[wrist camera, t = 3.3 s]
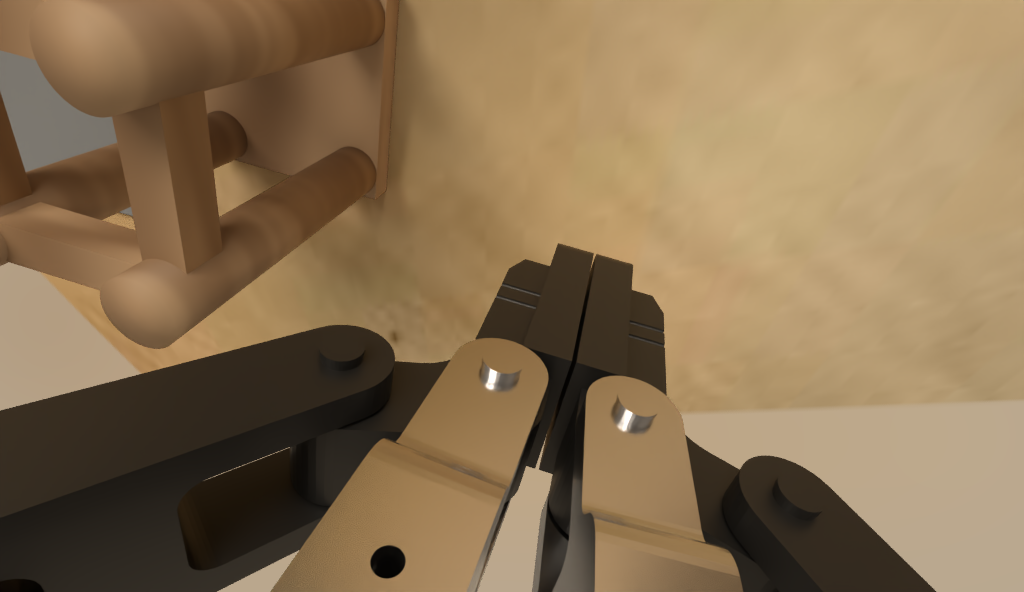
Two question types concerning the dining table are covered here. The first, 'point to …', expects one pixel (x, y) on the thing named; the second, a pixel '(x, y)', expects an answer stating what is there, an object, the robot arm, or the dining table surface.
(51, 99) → the mat
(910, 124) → the dining table surface
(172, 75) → the wooden dowel frame
